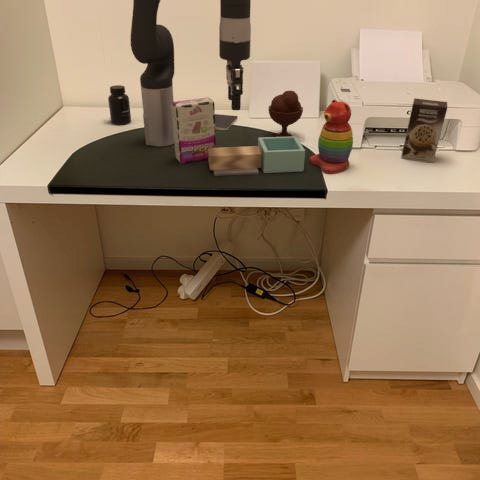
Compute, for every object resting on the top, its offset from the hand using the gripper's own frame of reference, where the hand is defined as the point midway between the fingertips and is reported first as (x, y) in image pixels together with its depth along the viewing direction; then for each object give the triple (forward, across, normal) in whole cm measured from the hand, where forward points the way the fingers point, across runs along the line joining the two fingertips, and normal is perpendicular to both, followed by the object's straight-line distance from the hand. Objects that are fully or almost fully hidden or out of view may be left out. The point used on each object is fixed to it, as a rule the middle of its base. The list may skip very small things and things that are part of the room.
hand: (234, 104), depth 121 cm
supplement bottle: (+18, -41, -34) cm, 57 cm away
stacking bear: (+17, +2, +28) cm, 33 cm away
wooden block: (+17, 0, 0) cm, 17 cm away
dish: (+17, 0, +13) cm, 22 cm away
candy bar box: (+18, -7, -10) cm, 22 cm away
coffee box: (+17, -2, +55) cm, 57 cm away
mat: (+17, 0, 0) cm, 17 cm away
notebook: (+18, -39, -6) cm, 44 cm away
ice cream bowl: (+18, -21, +19) cm, 33 cm away
